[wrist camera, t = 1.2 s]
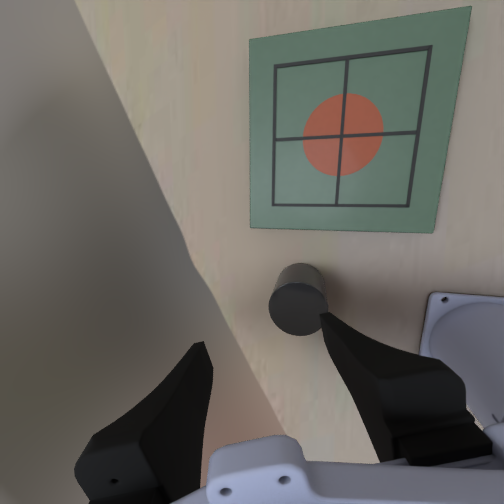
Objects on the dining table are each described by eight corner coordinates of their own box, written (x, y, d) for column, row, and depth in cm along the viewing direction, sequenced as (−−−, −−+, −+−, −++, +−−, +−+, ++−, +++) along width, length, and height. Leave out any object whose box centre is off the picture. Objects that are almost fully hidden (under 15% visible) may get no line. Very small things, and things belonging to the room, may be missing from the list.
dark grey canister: (326, 264, 22) (330, 284, 17) (323, 309, 23) (326, 339, 18) (277, 261, 23) (268, 279, 18) (276, 304, 24) (268, 332, 19)
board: (458, 21, 16) (473, 3, 15) (424, 230, 19) (434, 233, 18) (253, 50, 19) (248, 37, 18) (253, 226, 23) (249, 228, 21)
